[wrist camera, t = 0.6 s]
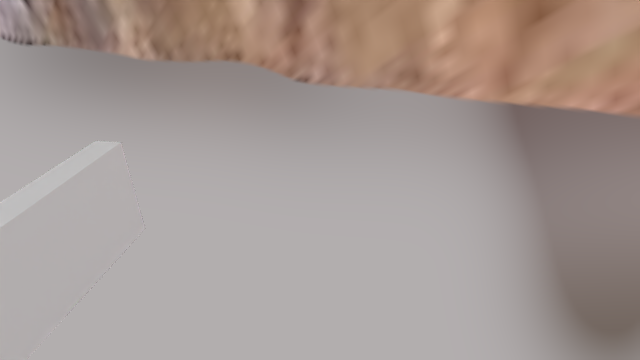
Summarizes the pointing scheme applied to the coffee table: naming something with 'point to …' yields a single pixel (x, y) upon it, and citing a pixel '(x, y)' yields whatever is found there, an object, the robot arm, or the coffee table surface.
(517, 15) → the coffee table surface
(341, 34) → the coffee table surface
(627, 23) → the coffee table surface
